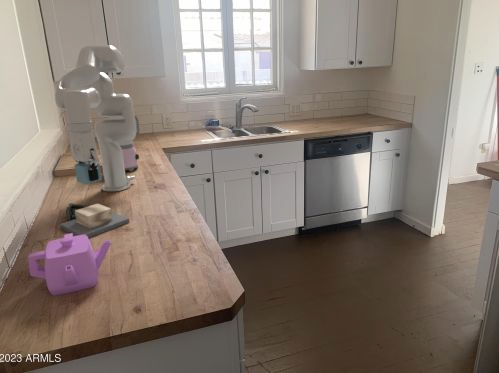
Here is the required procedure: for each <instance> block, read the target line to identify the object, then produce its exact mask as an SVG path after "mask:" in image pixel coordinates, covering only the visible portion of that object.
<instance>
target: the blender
mask: <svg viewBox="0 0 499 373" xmlns="http://www.w3.org/2000/svg"><path fill="white" fill-rule="evenodd" d="M134 116H135V125H136V135H140V134H139V133H140V120H139V118H138V116H136V114H134ZM108 119H124V117H123V116H108ZM133 140H134V139H132V140H121V141H115V142H116V143H117V144H118V145H119V146H120V147H121V149H122V152H123V160H124V167H125V171H129V173H130V172H135V170H134V169H138V168H139V164H138V160H139V159H140V156H139V154H137V149H136V148H135V146H134V144H133Z"/></svg>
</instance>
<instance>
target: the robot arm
mask: <svg viewBox="0 0 499 373" xmlns="http://www.w3.org/2000/svg"><path fill="white" fill-rule="evenodd" d="M124 69H125V59H124V56H123V54H122V53H121V52H120V50H119V49H117V47H115V46H113V45H109V44H98V45H96V44H94V45H93V44H92V45H85V46H83V47H81V49H80V50H79V52H78V57H77V62H76V65H75V67H74V68H73V69H72V70H70V71H69V72H67V73H65V74H64V75H63V76H62V77H60V79H59V80H58V82H57V85H56V88H55V94H54V97H55V98H54V99H55V100H54V101H55V103H56V106H57V108H59V109H60V110H63V111H65V114H66V119H67V120H66V121H67V126H68V132H69V146H70V154H71V158H72V160H74V161H75V162H76V164H80V163H86V162H87V165H88V168H89V170H88V174H89V180H90V181H95V180H98V179H99V176H98V163H100V159H101V166H102V172H103V174H102V175H103V179H104V184H103V185H102V186H101V189H102V190H103V191H104V192H108V193H110V192H113V193H114V192H120V191H124V190H127V189H129V188H130V187H131V183H130V181H133V180H135V179H136V176H135V175H126V170H125V167H124V160H123V152H122V149H121V147H120V146H119V145H118V144H117V143H116V142H115V141H121V140H132V139H133V140H134V139H135V138H136V137H137V134H136V124H135V116H136V115H135V109H134V103H133V99H132V97H131V95H129V94H127V93H115V89H114V82H113V79H111V78H110V77H109V75H108V74H111V73H114V74H115V73H116V74H117V73H122V72H123V70H124ZM89 86H90V87H89ZM91 86H92V87H91ZM91 110H95V111H96V113H97V115H98V116H100V117H109V116H123V117H124V119H109V118H108V119H102V120H99V121H97V122H95V124H94V126H93V119H92V112H91ZM134 115H135V116H134ZM94 134H95V135H94ZM96 140H97V142H96ZM133 140H132V141H133ZM97 144H98V147H99V154H100V159H99V154H98V147H97ZM91 162H93V163H92V165H91V164H90V163H91Z"/></svg>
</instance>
